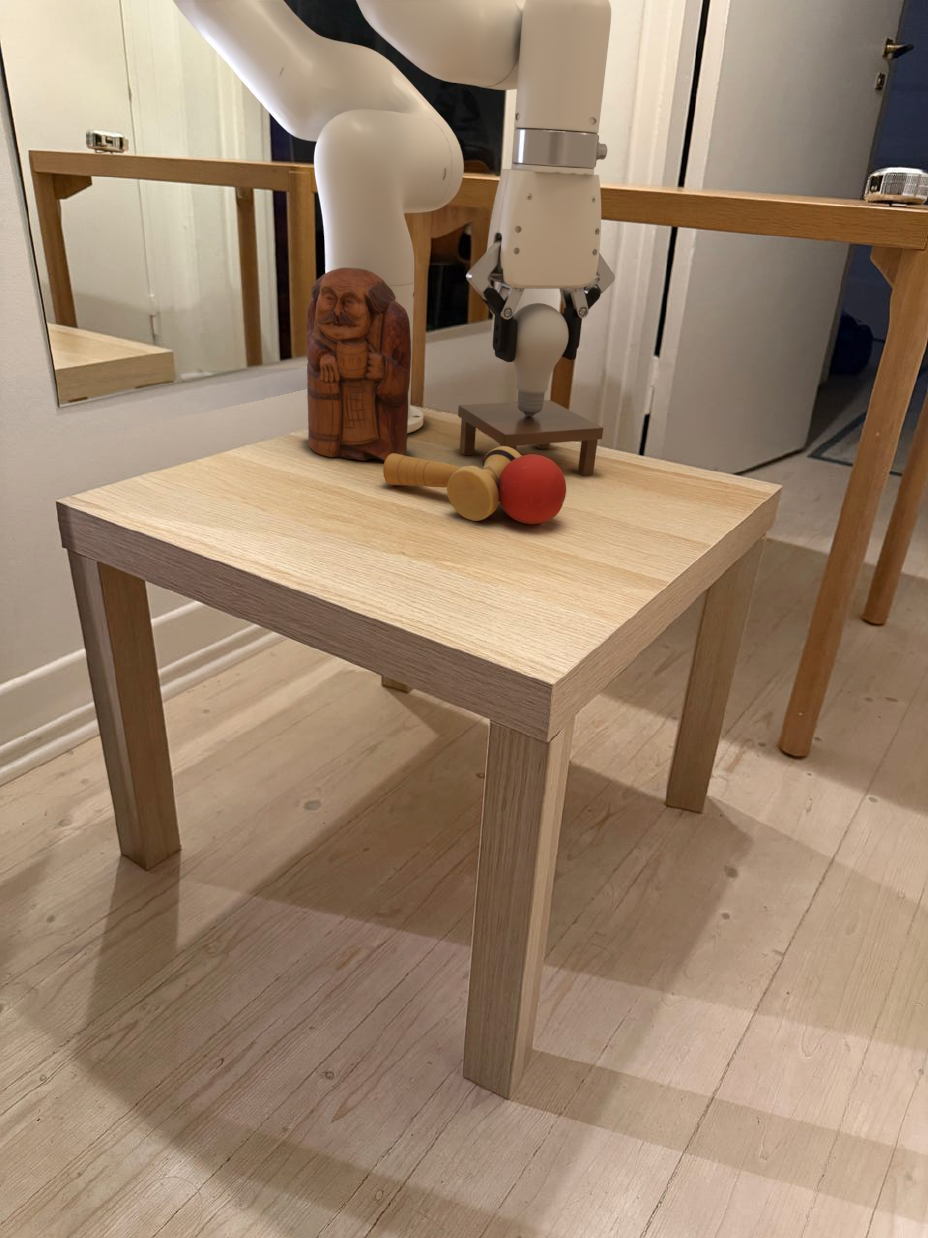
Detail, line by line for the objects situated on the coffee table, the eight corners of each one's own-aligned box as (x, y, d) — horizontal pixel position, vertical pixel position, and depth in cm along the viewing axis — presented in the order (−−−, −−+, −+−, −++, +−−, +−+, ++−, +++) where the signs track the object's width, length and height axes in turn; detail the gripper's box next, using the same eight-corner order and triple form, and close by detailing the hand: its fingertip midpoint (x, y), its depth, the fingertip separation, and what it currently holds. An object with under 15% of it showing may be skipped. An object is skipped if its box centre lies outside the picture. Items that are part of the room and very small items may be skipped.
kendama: (364, 510, 84) (539, 532, 75) (365, 440, 82) (543, 454, 73) (412, 503, 90) (578, 522, 81) (414, 438, 89) (583, 450, 80)
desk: (455, 451, 97) (458, 404, 95) (545, 444, 102) (550, 399, 99) (501, 484, 88) (505, 434, 86) (597, 475, 93) (603, 427, 90)
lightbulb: (487, 410, 93) (496, 298, 88) (535, 405, 96) (546, 297, 91) (522, 426, 89) (533, 310, 84) (571, 421, 92) (585, 307, 87)
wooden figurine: (289, 452, 94) (283, 266, 85) (314, 436, 99) (311, 260, 91) (398, 468, 91) (403, 278, 83) (417, 450, 97) (424, 271, 88)
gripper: (612, 158, 88) (590, 347, 96) (449, 147, 81) (440, 352, 90) (657, 161, 82) (629, 363, 90) (485, 150, 75) (471, 369, 84)
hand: (535, 356), depth 90 cm, fingers closed on lightbulb, 6 cm apart
